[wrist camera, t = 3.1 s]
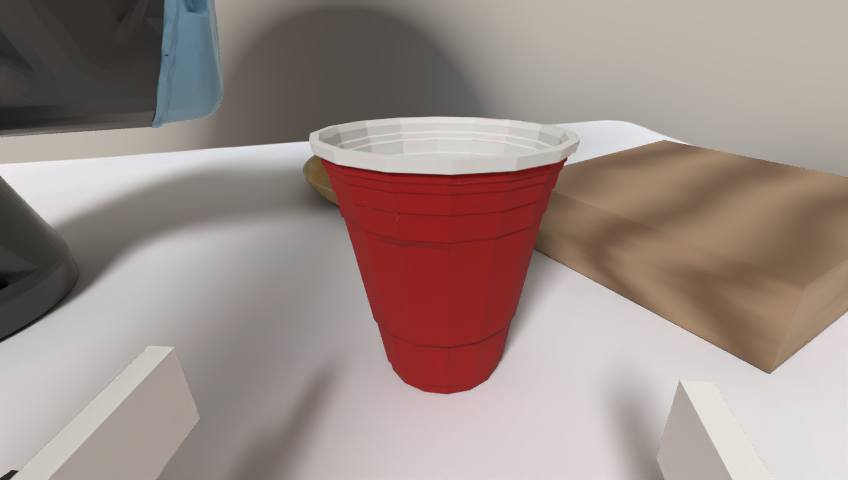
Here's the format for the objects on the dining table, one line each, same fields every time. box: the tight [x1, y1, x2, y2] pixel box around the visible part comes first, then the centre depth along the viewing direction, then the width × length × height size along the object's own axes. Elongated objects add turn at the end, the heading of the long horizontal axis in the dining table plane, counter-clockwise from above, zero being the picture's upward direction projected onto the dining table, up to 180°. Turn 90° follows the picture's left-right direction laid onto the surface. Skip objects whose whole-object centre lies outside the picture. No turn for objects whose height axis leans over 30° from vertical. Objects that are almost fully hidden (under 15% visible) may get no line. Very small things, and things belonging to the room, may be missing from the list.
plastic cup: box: [309, 117, 580, 394], centre depth 21 cm, size 11×11×12 cm
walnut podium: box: [534, 140, 848, 374], centre depth 31 cm, size 18×18×5 cm
